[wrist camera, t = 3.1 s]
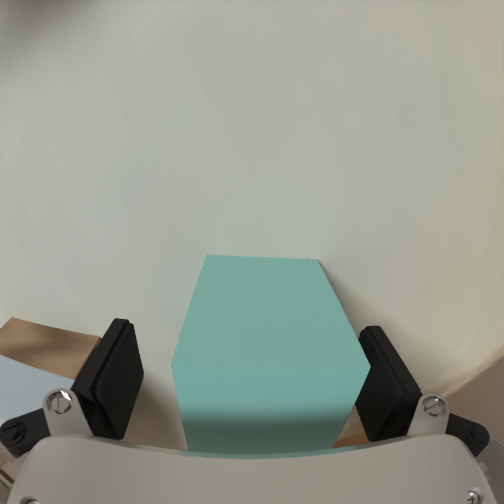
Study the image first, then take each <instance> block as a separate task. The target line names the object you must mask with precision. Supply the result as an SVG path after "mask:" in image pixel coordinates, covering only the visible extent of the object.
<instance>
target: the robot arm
mask: <svg viewBox="0 0 504 504" xmlns="http://www.w3.org/2000/svg"><path fill="white" fill-rule="evenodd" d="M358 341H359V343H360V345H361V347H362V349H363V351H364V354H365V356H366V358H367V360H368V362H369V364H370V366H371V367H370V370H369V372H368V374H367V377H366V379H365V382H364V384H363V386H362V388H361V391H360V393H359V395H358V397H357V399H356V402H355V406H356V408H357V411H358V414H359V416H360V419H361V422H362V424H363V427H364V430H365V433H366V435H367V438H368V440H369V441H370V442H371V441H372V442H371V443H365V444H360V445H353V446H347V447H341V448H333V449H325V450H316V451H306V452H293V453H274V454H227V453H207V452H194V451H184V450H175V449H167V448H160V447H154V446H147V445H141V444H135V443H129V442H124V441H119V439H121V440H122V439H123V438H124V435H125V432H126V429H127V425H128V422H129V419H130V416H131V413H132V410H133V407H134V404H135V401H136V398H137V395H138V392H139V389H140V386H141V383H142V380H143V376H144V371H143V367H142V362H141V358H140V354H139V349H138V344H137V340H136V335H135V330H134V325H133V324H131V323H130V322H129V320H127V319H118V318H115V319H114V320H113V322H112V323H111V325H110V326H109V328H108V330H107V331H106V333H105V335H104V336H103V338H102V340H101V341H100V343H99V345H98V346H97V347H95V348H94V349H93V350H92V352H91V354H90V355H89V357H88V359H87V360H86V362H85V364H84V366H83V367H82V369H81V371H80V373H79V374H78V376H77V378H76V380H75V381H74V383H73V385H72V387H71V389H70V390H69V389H66V388H58V389H54V390H52V391H50V392H49V393H48V394H47V395H46V396H45V397H44V400H43V408H40V409H38V410H35V411H32V412H29V413H27V414H24V415H21V416H18V417H15V418H12V419H9V420H7V421H5V422H4V423H3V424H2V425H1V427H0V504H504V447H503V446H502V445H500V444H499V443H498V442H496V441H495V440H492V441H489V433H488V431H487V430H486V428H484V427H483V426H482V425H480V424H477V423H475V422H472V421H470V420H467V419H464V418H462V417H459V416H456V415H454V414H451V413H450V406H449V403H448V402H447V400H446V399H445V398H443V397H442V396H440V395H438V394H434V393H428V394H425V395H422V393H421V392H420V391H421V390H420V388H419V387H418V385H417V383H416V382H415V380H414V378H413V377H412V375H411V374H410V372H409V370H408V369H407V367H406V366H405V364H404V362H403V361H402V359H401V358H400V356H399V354H398V353H397V351H396V350H395V348H394V347H393V345H392V344H391V342H390V340H389V339H388V337H387V336H386V334H385V333H384V331H383V330H382V328H381V327H380V326H367V327H366V328H365V329H364V330H362V331H361V333H360V336H359V340H358Z"/></svg>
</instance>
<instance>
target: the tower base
mask: <svg viewBox="0 0 504 504" xmlns="http://www.w3.org/2000/svg"><path fill="white" fill-rule="evenodd" d="M100 341H101V339H100V337H99V336H93V335H87V334H82V333H77V332H72V331H67V330H62V329H58V328H53V327H49V326H44V325H40V324H36V323H32V322H28V321H24V320H20V319H17V318H13V317H11V318H10V319H9V321H8V322H7V323H6V324H5V325H4V326H3V327H2V328H1V329H0V355H3V356H5V357H7V358H10V359H13V360H15V361H18V362H20V363H23V364H26V365H28V366H31V367H34V368H37V369H40V370H43V371H46V372H49V373H52V374H55V375H59V376H62V377H65V378H69V379H73V380H76V378H77V376H78V374H79V373H80V371H81V369H82V367H83V366H84V364H85V362H86V360H87V359H88V357H89V355H90V354H91V352H92V350H93V349H94V348H95V347H97V346H98V345H99V343H100ZM119 441H120V439H119Z"/></svg>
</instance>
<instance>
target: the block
mask: <svg viewBox="0 0 504 504" xmlns="http://www.w3.org/2000/svg"><path fill="white" fill-rule="evenodd" d="M171 366H172V372H173V378H174V383H175V389H176V394H177V399H178V405H179V409H180V414H181V419H182V424H183V428H184V433H185V437H186V441H187V445H188V449H189V451H194V452H207V453H227V454H274V453H293V452H306V451H316V450H325V449H332V447H333V445H334V443H335V441H336V439H337V438H338V436H339V434H340V432H341V430H342V428H343V426H344V424H345V422H346V420H347V418H348V416H349V414H350V412H351V410H352V408H353V406H354V404H355V402H356V399H357V397H358V395H359V393H360V391H361V388H362V386H363V384H364V382H365V379H366V377H367V374H368V372H369V370H370V367H371V366H370V364H369V362H368V360H367V358H366V356H365V354H364V351H363V349H362V347H361V345H360V343H359V341H358V339H357V337H356V335H355V333H354V331H353V328H352V326H351V324H350V322H349V320H348V318H347V316H346V314H345V312H344V310H343V308H342V306H341V304H340V302H339V300H338V298H337V296H336V294H335V292H334V290H333V289H332V287H331V285H330V283H329V281H328V279H327V277H326V275H325V273H324V271H323V269H322V267H321V266H320V264H319V262H318V260H310V259H288V258H266V257H245V256H224V255H206V258H205V261H204V264H203V267H202V270H201V273H200V276H199V279H198V282H197V285H196V288H195V291H194V294H193V297H192V300H191V303H190V306H189V309H188V312H187V315H186V319H185V322H184V325H183V328H182V331H181V334H180V338H179V341H178V344H177V347H176V351H175V354H174V357H173V361H172V364H171Z"/></svg>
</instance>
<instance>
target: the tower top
mask: <svg viewBox="0 0 504 504" xmlns="http://www.w3.org/2000/svg"><path fill="white" fill-rule="evenodd" d="M74 381H75V380H73V379H69V378H65V377H62V376H59V375H55V374H52V373H49V372H46V371H43V370H40V369H37V368H34V367H31V366H28V365H26V364H23V363H20V362H18V361H15V360H13V359H10V358H7V357H5V356H3V355H0V427H1V425H2V424H3V423H4V422H5V421H7V420H9V419H12V418H15V417H18V416H21V415H24V414H27V413H29V412H32V411H35V410H38V409H40V408H43V400H44V397H45V396H46V395H47V394H48V393H49V392H50V391H52V390H54V389H58V388H66V389H69V390H70V389H71V387H72V385H73V383H74Z"/></svg>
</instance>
